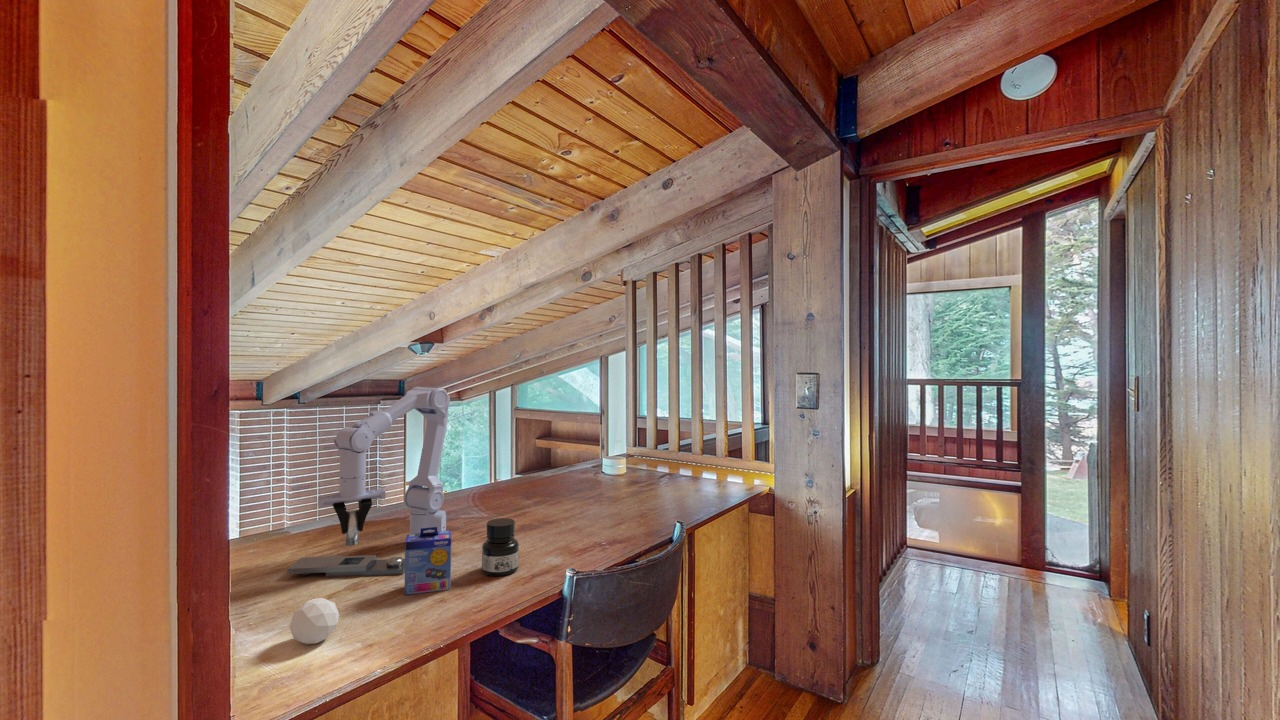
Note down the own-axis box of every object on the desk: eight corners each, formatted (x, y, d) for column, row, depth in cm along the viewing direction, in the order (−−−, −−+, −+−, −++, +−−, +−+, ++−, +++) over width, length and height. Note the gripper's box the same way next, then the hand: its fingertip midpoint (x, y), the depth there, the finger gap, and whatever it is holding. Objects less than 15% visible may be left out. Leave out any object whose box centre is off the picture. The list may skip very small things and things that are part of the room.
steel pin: (357, 540, 133) (358, 508, 133) (359, 544, 131) (359, 511, 131) (344, 542, 131) (344, 510, 131) (345, 546, 129) (346, 513, 129)
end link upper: (376, 564, 135) (376, 555, 135) (365, 575, 128) (365, 565, 128) (302, 567, 133) (302, 557, 133) (287, 578, 126) (287, 568, 126)
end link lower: (411, 563, 136) (411, 553, 136) (402, 574, 129) (402, 564, 129) (338, 565, 134) (338, 556, 134) (325, 577, 127) (325, 567, 127)
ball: (307, 662, 97) (280, 639, 93) (306, 628, 103) (280, 606, 99) (349, 635, 99) (324, 612, 95) (345, 604, 106) (321, 581, 101)
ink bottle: (479, 579, 127) (480, 529, 127) (480, 565, 136) (480, 518, 136) (521, 575, 130) (521, 526, 130) (519, 561, 138) (519, 515, 138)
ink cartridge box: (403, 596, 118) (404, 531, 118) (405, 586, 123) (406, 523, 123) (451, 590, 121) (452, 526, 121) (450, 580, 126) (451, 519, 126)
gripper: (382, 470, 138) (381, 522, 138) (317, 476, 130) (316, 532, 130) (387, 475, 133) (386, 529, 133) (319, 482, 124) (318, 540, 124)
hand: (352, 531), depth 131 cm, fingers closed on steel pin, 3 cm apart
